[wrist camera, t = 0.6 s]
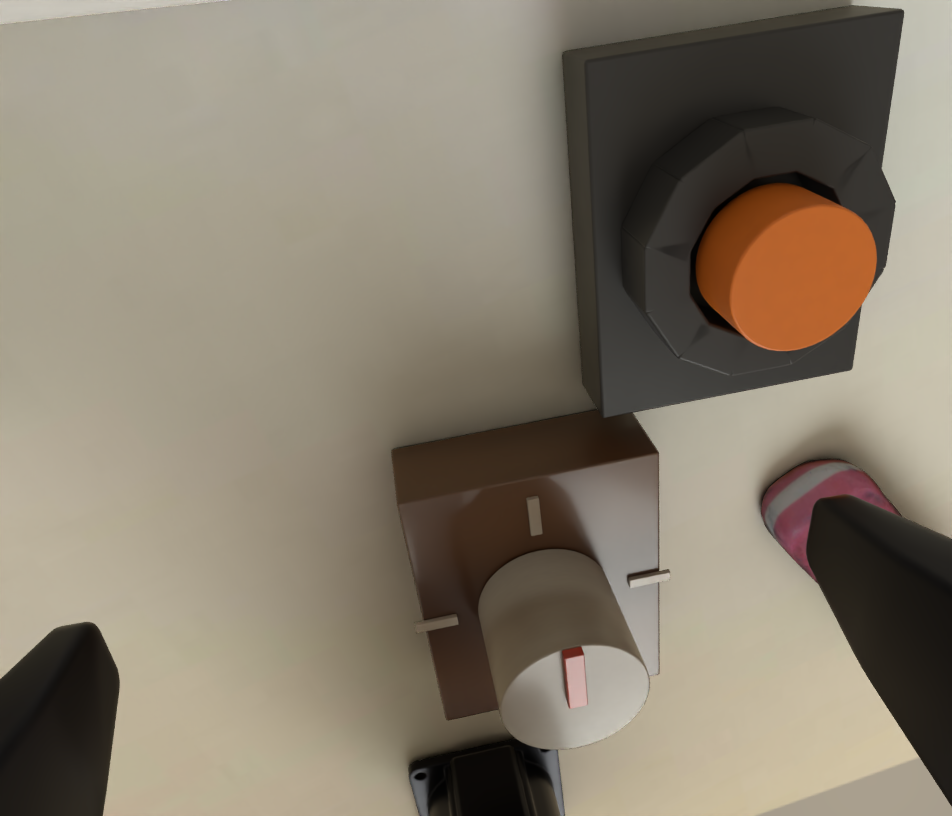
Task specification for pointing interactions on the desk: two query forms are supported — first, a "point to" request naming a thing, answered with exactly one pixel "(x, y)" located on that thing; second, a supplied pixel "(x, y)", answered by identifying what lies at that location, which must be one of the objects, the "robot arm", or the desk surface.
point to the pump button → (785, 265)
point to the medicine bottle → (77, 8)
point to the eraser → (813, 500)
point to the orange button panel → (714, 186)
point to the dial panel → (526, 529)
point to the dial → (560, 651)
